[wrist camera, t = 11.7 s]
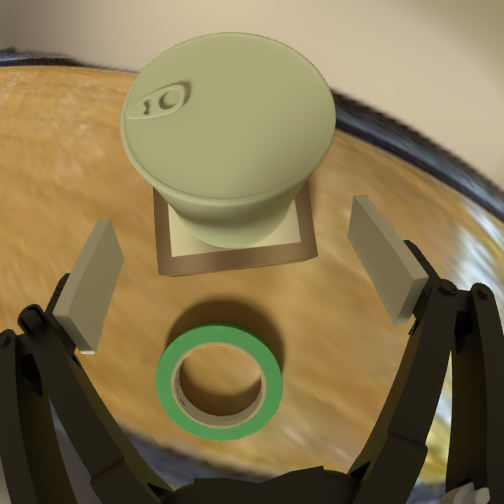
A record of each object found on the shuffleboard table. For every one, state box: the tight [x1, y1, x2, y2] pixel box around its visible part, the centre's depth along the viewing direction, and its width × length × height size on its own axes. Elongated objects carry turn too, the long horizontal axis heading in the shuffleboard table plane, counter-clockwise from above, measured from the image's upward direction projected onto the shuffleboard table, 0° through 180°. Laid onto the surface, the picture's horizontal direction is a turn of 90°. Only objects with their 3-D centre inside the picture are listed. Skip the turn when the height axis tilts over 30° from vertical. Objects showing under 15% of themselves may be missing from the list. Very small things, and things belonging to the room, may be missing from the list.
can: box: [120, 33, 336, 248], centre depth 16 cm, size 9×9×12 cm
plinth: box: [153, 181, 318, 277], centre depth 25 cm, size 12×12×5 cm
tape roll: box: [156, 322, 282, 441], centre depth 25 cm, size 11×11×3 cm
